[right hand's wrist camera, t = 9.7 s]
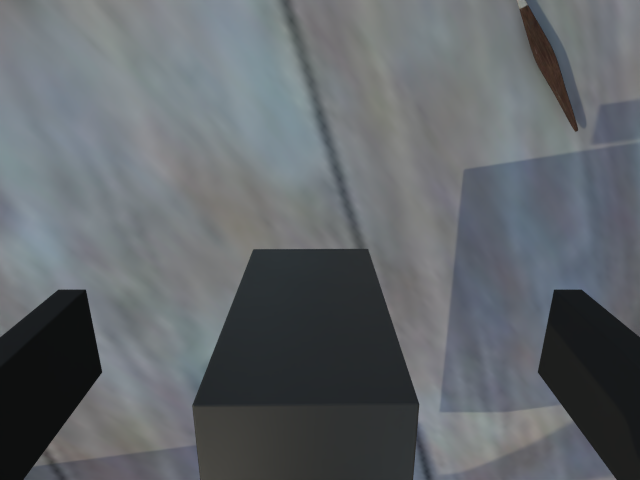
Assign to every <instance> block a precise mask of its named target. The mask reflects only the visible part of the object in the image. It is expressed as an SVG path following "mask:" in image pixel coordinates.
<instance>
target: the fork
mask: <svg viewBox="0 0 640 480" xmlns="http://www.w3.org/2000/svg"><path fill="white" fill-rule="evenodd" d="M517 3H518V6H519V9H520V12H521V16H522V19H523V23H524V26H525V30H526V33H527V37H528V40H529V43H530V46H531V50H532V52H533V55H534V58H535V60H536V63H537V65H538V67H539V68H540V70H541V72H542V74H543V76H544V77H545V79H546V81H547V82H548V84H549V86H550V87H551V89H552V91H553V93H554V94H555V96H556V98H557V100H558V102H559V104H560V105H561V107H562V109H563V111H564V113H565V115H566V117H567V118H568V120H569V122H570V124H571V126H572V127H573V129H574V130H575V132H576V131H578V127H577V123H576V120H575V116H574V113H573V110H572V107H571V104H570V101H569V98H568V94H567V91H566V88H565V85H564V81H563V78H562V74H561V71H560V68H559V64H558V61H557V58H556V56H555V53H554V51H553V49H552V47H551V45H550V43H549V41H548V39H547V37H546V36H545V34H544V32H543V30H542V29H541V27H540V25H539V23H538V22H537V20H536V18H535V17H534V15H533V13H532V11H531V10H530V8H529V6H528V4H527V3H526V1H525V0H517Z"/></svg>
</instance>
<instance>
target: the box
mask: <svg viewBox="0 0 640 480" xmlns="http://www.w3.org/2000/svg"><path fill="white" fill-rule="evenodd" d="M192 407H193V416H194V425H195V435H196V444H197V453H198V463H199V472H200V480H413V473H414V461H415V449H416V437H417V425H418V412H419V402H418V399H417V396H416V393H415V390H414V387H413V384H412V381H411V378H410V375H409V372H408V369H407V366H406V363H405V360H404V357H403V354H402V351H401V348H400V345H399V342H398V338H397V335H396V332H395V329H394V326H393V323H392V320H391V317H390V314H389V311H388V308H387V305H386V302H385V299H384V296H383V293H382V290H381V287H380V284H379V281H378V278H377V275H376V272H375V269H374V266H373V263H372V260H371V257H370V254H369V251H368V249H254V250H253V252H252V254H251V257H250V260H249V262H248V265H247V267H246V270H245V272H244V275H243V277H242V280H241V283H240V285H239V288H238V290H237V293H236V295H235V298H234V300H233V303H232V306H231V308H230V311H229V313H228V316H227V318H226V321H225V323H224V326H223V329H222V331H221V334H220V336H219V339H218V341H217V344H216V346H215V349H214V352H213V354H212V357H211V359H210V362H209V364H208V367H207V369H206V372H205V375H204V377H203V380H202V382H201V385H200V387H199V390H198V393H197V395H196V398H195V400H194V403H193V405H192Z"/></svg>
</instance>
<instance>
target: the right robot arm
mask: <svg viewBox="0 0 640 480" xmlns="http://www.w3.org/2000/svg"><path fill="white" fill-rule="evenodd" d="M101 373H102V369H101V364H100V359H99V354H98V349H97V344H96V339H95V334H94V329H93V324H92V318H91V313H90V308H89V303H88V298H87V293H86V290H58V291H56V292H55V293H54V294H53V295H51V296H50V297H49V298H48V299H47V300H45V301H44V302H43V303H42V304H40V305H39V306H38V307H37V308H36V309H34V310H33V311H32V312H31V313H29V314H28V315H27V316H26V317H25V318H23V319H22V320H21V321H20V322H18V323H17V324H16V325H15V326H14V327H12V328H11V329H10V330H9V331H7V332H6V333H5V334H4V335H3V336H1V337H0V480H23V479H24V478H25V477H26V475H27V474H28V472H29V471H30V470H31V468H32V467H33V466H34V464H35V463H36V462H37V460H38V459H39V458H40V456H41V455H42V453H43V452H44V451H45V449H46V448H47V447H48V445H49V444H50V443H51V441H52V440H53V438H54V437H55V436H56V434H57V433H58V432H59V430H60V429H61V428H62V426H63V425H64V423H65V422H66V421H67V419H68V418H69V417H70V415H71V414H72V413H73V411H74V410H75V409H76V407H77V406H78V404H79V403H80V402H81V400H82V399H83V398H84V396H85V395H86V394H87V392H88V391H89V389H90V388H91V387H92V385H93V384H94V383H95V381H96V380H97V379H98V377H99V376H100V374H101ZM538 373H539V374H540V376H541V377H542V379H543V380H544V381H545V383H546V384H547V385H548V387H549V388H550V389H551V391H552V392H553V394H554V395H555V396H556V398H557V399H558V400H559V402H560V403H561V404H562V406H563V407H564V409H565V410H566V411H567V413H568V414H569V415H570V417H571V418H572V419H573V421H574V422H575V423H576V425H577V426H578V428H579V429H580V430H581V432H582V433H583V434H584V436H585V437H586V438H587V440H588V441H589V443H590V444H591V445H592V447H593V448H594V449H595V451H596V452H597V453H598V455H599V456H600V458H601V459H602V460H603V462H604V463H605V464H606V466H607V467H608V468H609V470H610V471H611V472H612V474H613V475H614V477H615V478H616V479H617V480H640V337H639V336H637V335H636V334H635V333H634V332H633V331H631V330H630V329H629V328H628V327H626V326H625V325H624V324H623V323H622V322H620V321H619V320H618V319H617V318H615V317H614V316H613V315H612V314H611V313H609V312H608V311H607V310H606V309H604V308H603V307H602V306H601V305H600V304H598V303H597V302H596V301H595V300H593V299H592V298H591V297H590V296H589V295H587V294H586V293H585V292H584V291H582V290H554V293H553V298H552V303H551V308H550V313H549V318H548V324H547V329H546V334H545V339H544V344H543V349H542V354H541V359H540V364H539V369H538Z"/></svg>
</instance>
